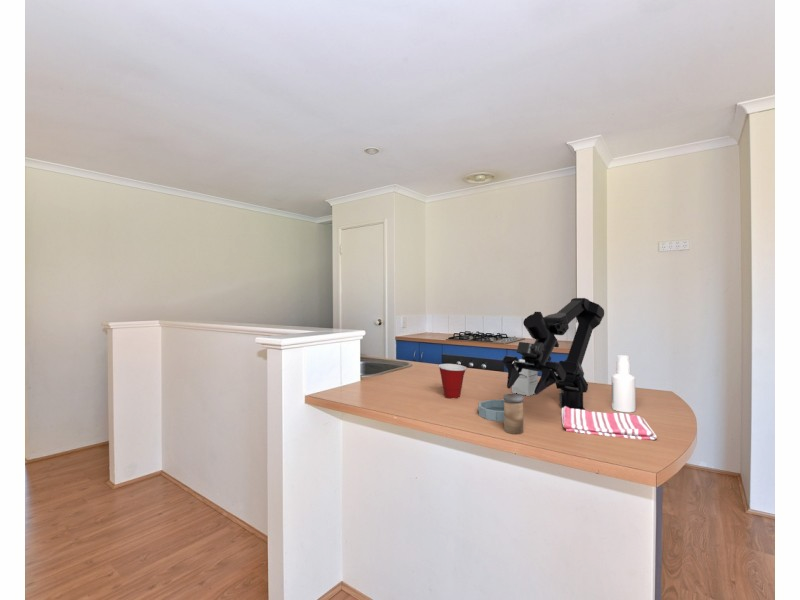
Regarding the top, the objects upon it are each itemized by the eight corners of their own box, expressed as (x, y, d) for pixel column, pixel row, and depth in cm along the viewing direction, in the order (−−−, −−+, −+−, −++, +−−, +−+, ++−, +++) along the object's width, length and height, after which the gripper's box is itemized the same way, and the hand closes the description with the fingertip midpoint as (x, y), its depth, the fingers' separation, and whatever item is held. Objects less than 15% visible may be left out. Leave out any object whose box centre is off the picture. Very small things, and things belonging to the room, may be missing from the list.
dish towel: (561, 415, 127) (560, 405, 127) (644, 422, 119) (644, 411, 118) (563, 433, 111) (562, 421, 111) (659, 443, 103) (659, 430, 102)
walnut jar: (521, 428, 114) (521, 394, 114) (525, 434, 109) (524, 399, 109) (502, 427, 115) (502, 393, 115) (505, 434, 110) (505, 398, 110)
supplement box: (511, 393, 154) (511, 361, 153) (521, 389, 159) (521, 358, 158) (528, 396, 148) (528, 363, 148) (538, 393, 153) (538, 360, 153)
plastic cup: (466, 401, 144) (466, 368, 143) (437, 400, 146) (436, 367, 146) (467, 393, 154) (467, 363, 154) (440, 392, 156) (439, 362, 156)
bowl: (517, 408, 133) (517, 400, 133) (525, 421, 120) (525, 412, 120) (477, 408, 135) (477, 399, 135) (480, 420, 121) (480, 411, 121)
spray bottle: (631, 407, 132) (631, 354, 132) (638, 413, 126) (637, 357, 125) (609, 406, 134) (609, 353, 134) (614, 412, 128) (614, 357, 127)
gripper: (505, 330, 125) (483, 369, 118) (560, 334, 110) (539, 379, 103) (520, 352, 130) (499, 390, 123) (574, 359, 115) (555, 403, 108)
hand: (521, 390), depth 114 cm, fingers open, 9 cm apart
